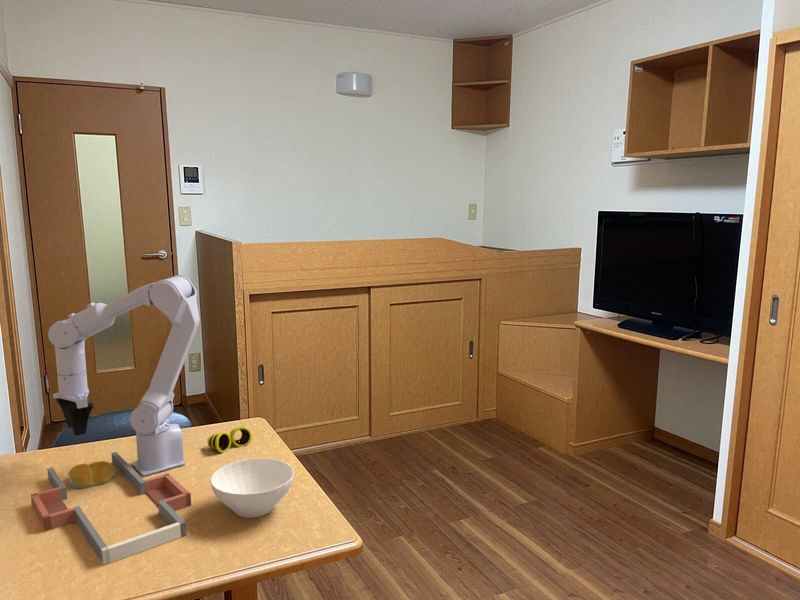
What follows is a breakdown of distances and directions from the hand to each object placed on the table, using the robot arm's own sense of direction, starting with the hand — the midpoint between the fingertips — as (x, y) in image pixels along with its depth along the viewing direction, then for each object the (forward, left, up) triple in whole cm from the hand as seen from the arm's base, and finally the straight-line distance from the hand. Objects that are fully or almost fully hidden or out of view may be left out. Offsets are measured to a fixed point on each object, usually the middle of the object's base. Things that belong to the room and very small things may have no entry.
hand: (76, 430), depth 136 cm
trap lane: (0, +24, -8) cm, 25 cm away
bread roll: (0, +10, -9) cm, 13 cm away
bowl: (-21, +44, -9) cm, 49 cm away
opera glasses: (-31, +12, -9) cm, 34 cm away
